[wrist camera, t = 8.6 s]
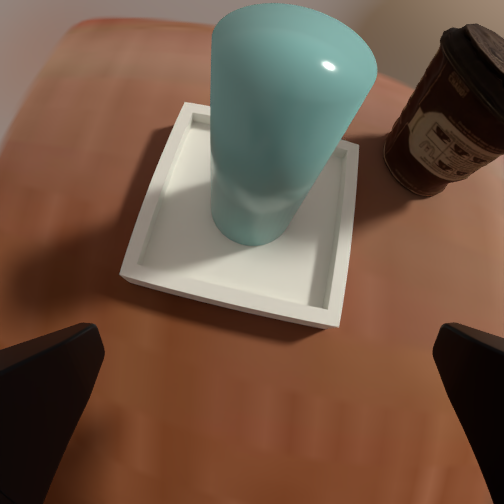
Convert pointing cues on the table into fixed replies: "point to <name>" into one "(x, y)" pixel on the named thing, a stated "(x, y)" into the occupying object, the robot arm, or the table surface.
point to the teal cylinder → (278, 112)
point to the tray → (236, 255)
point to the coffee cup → (451, 114)
